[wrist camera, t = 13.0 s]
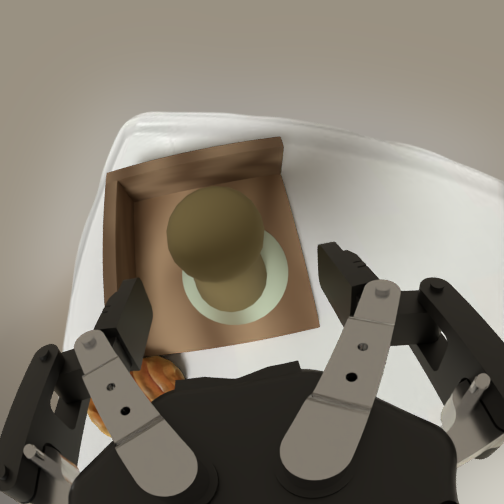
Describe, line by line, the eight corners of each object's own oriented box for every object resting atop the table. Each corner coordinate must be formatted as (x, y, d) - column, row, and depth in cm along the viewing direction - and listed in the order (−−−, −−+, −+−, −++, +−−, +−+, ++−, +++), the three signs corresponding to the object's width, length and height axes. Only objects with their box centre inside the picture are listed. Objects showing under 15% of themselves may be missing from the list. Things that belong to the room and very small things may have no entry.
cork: (195, 313, 23) (146, 284, 13) (195, 244, 25) (156, 173, 14) (269, 310, 23) (279, 278, 13) (264, 240, 25) (269, 164, 14)
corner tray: (277, 168, 28) (280, 136, 24) (318, 327, 23) (332, 322, 19) (126, 198, 28) (106, 173, 23) (136, 357, 23) (110, 358, 18)
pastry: (162, 336, 23) (147, 334, 20) (204, 401, 22) (195, 411, 18) (88, 381, 22) (66, 384, 18) (124, 442, 20) (106, 453, 16)
